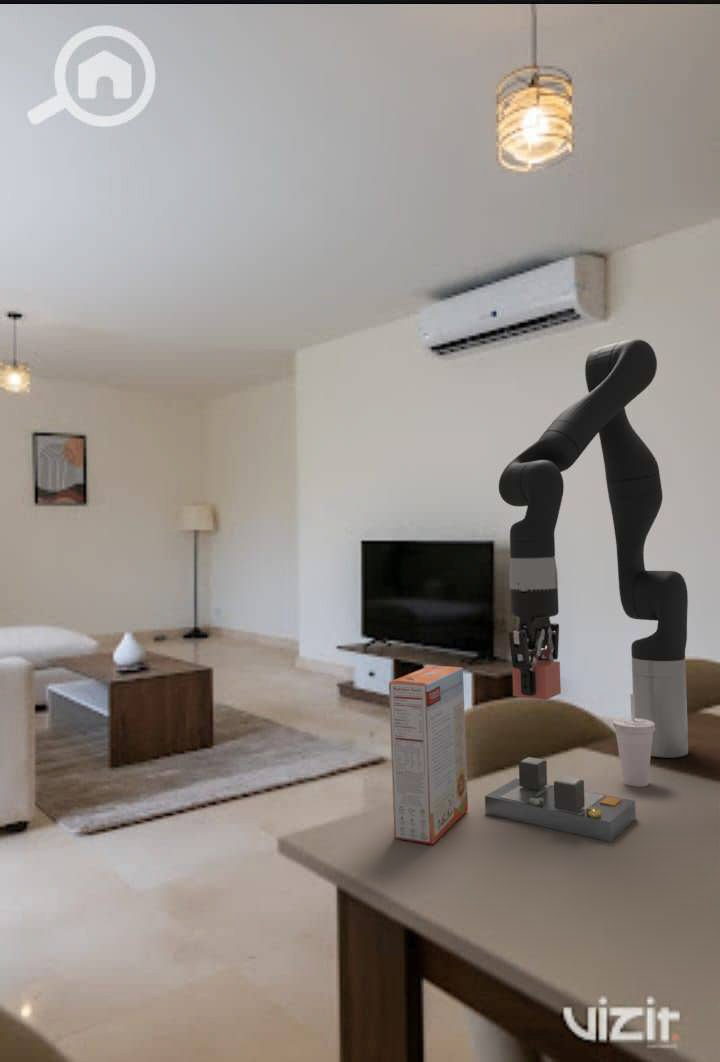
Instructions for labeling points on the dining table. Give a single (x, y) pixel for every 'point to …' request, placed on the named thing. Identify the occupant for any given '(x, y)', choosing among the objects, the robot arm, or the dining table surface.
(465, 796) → the cracker box
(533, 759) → the toggle
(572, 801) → the toggle
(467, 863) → the dining table surface
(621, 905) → the dining table surface
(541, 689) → the salmon pink cube
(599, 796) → the panel
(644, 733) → the smoothie
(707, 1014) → the dining table surface
